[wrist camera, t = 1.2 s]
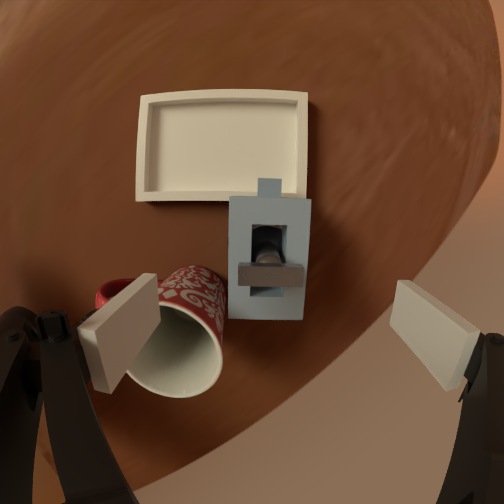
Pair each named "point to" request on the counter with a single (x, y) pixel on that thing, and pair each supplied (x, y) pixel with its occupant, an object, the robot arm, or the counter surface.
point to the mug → (180, 333)
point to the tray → (220, 144)
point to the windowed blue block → (292, 251)
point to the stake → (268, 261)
